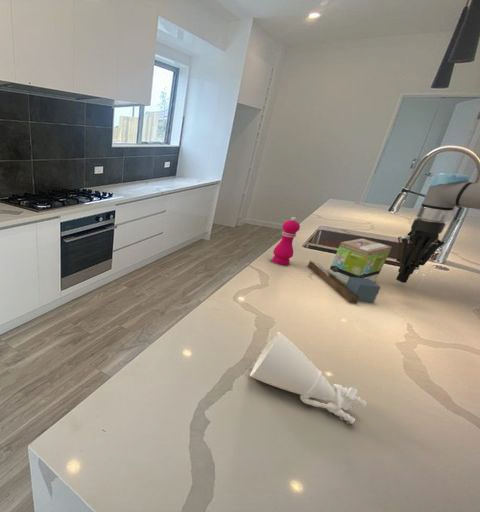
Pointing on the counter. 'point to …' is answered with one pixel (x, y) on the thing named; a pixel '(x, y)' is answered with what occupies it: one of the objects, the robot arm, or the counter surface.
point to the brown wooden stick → (334, 282)
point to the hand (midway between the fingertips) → (400, 281)
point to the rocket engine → (302, 377)
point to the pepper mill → (286, 242)
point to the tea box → (359, 260)
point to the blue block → (363, 288)
